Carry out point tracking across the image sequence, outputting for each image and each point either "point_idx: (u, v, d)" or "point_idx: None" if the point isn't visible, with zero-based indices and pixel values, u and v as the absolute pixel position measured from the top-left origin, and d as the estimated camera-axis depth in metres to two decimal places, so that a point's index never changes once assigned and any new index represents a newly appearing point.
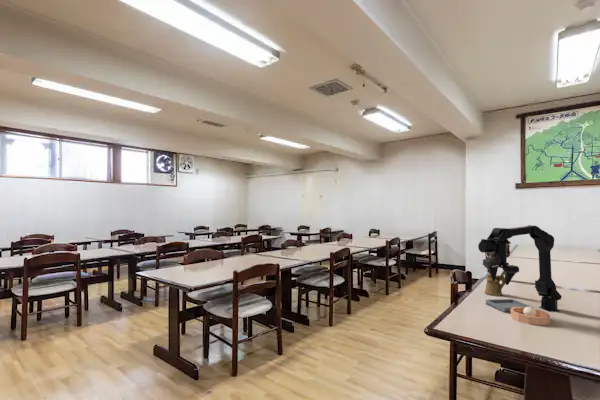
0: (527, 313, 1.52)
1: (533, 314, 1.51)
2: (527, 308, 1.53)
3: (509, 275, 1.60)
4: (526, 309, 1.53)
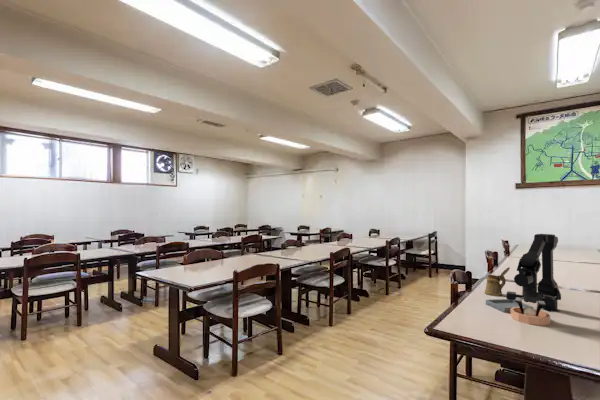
0: (527, 313, 1.52)
1: (533, 314, 1.51)
2: (527, 308, 1.53)
3: None
4: (526, 309, 1.53)
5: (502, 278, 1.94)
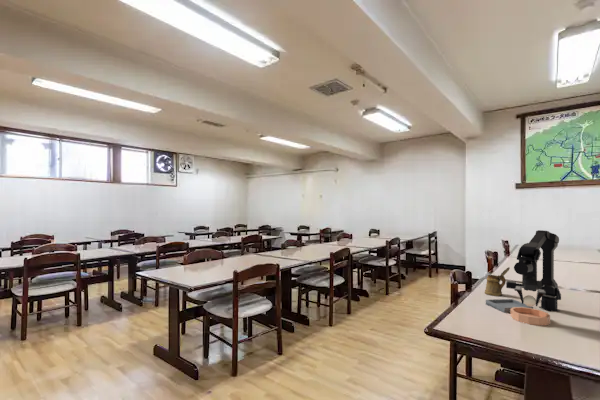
0: (527, 302, 1.52)
1: (533, 303, 1.51)
2: (527, 297, 1.53)
3: None
4: (526, 298, 1.53)
5: (502, 278, 1.94)
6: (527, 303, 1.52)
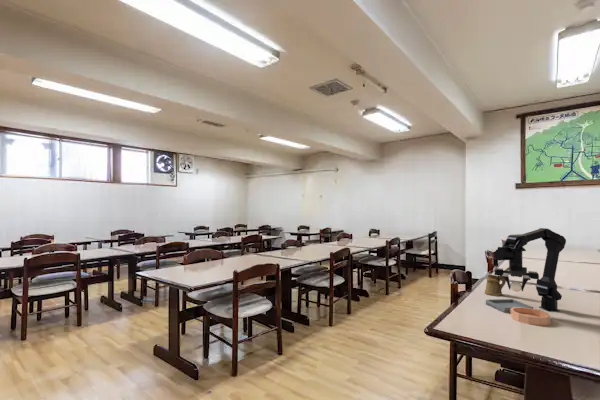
0: (513, 287, 1.63)
1: (519, 288, 1.62)
2: (514, 283, 1.64)
3: None
4: (513, 284, 1.64)
5: (502, 278, 1.94)
6: (514, 288, 1.63)
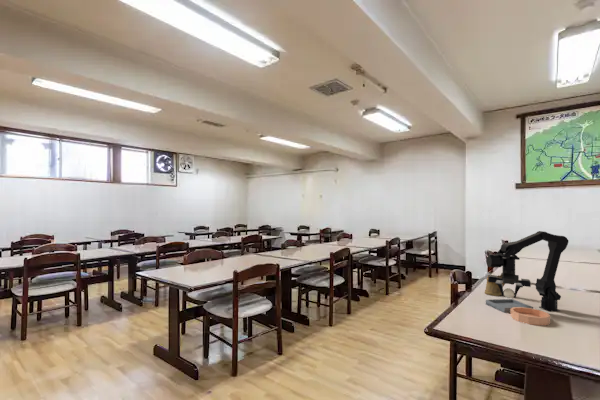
0: (506, 294, 1.69)
1: (511, 295, 1.68)
2: (507, 290, 1.70)
3: None
4: (505, 290, 1.70)
5: None
6: (506, 295, 1.70)
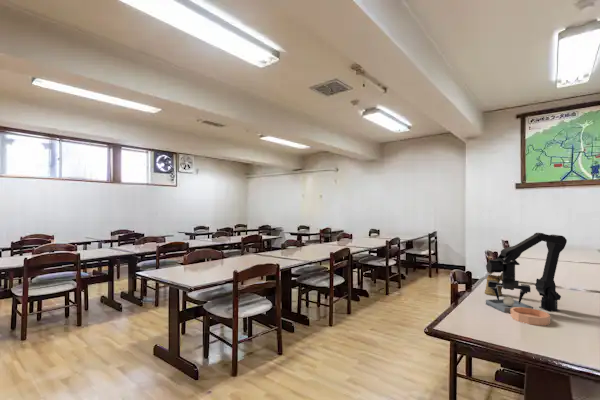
0: (506, 302, 1.69)
1: (511, 303, 1.68)
2: (506, 298, 1.70)
3: None
4: (505, 299, 1.70)
5: None
6: (506, 303, 1.70)
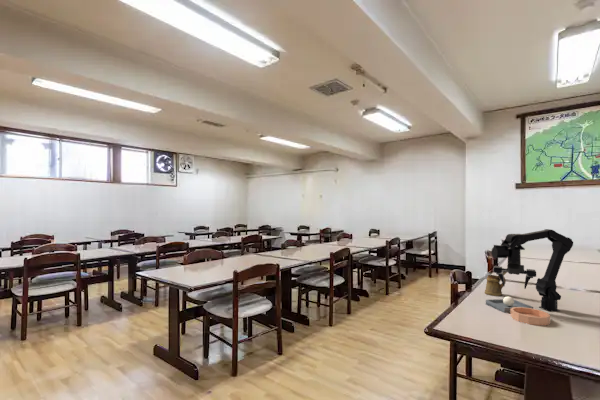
0: (506, 302, 1.69)
1: (511, 303, 1.68)
2: (506, 298, 1.70)
3: None
4: (505, 299, 1.70)
5: None
6: (506, 303, 1.70)
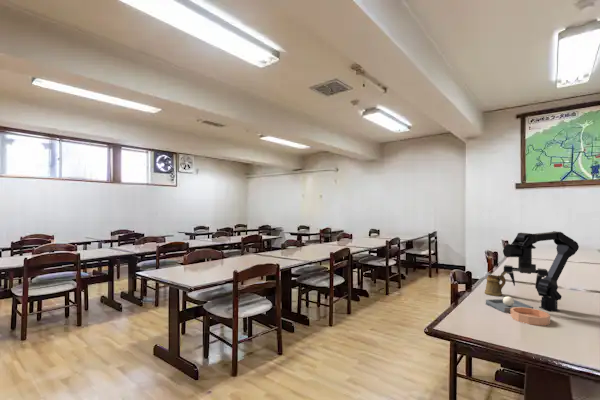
0: (506, 302, 1.69)
1: (511, 303, 1.68)
2: (506, 298, 1.70)
3: None
4: (505, 299, 1.70)
5: (502, 278, 1.94)
6: (506, 303, 1.70)
